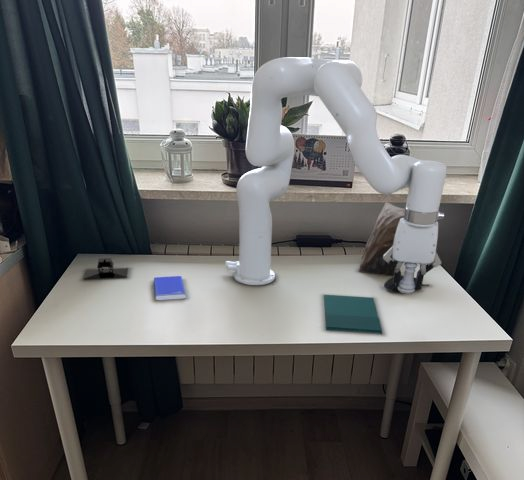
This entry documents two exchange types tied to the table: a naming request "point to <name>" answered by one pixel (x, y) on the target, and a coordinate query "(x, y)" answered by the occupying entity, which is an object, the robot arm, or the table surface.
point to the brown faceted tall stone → (381, 241)
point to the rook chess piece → (408, 279)
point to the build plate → (106, 271)
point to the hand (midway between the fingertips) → (406, 285)
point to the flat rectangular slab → (351, 314)
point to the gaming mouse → (391, 286)
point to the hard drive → (169, 288)
